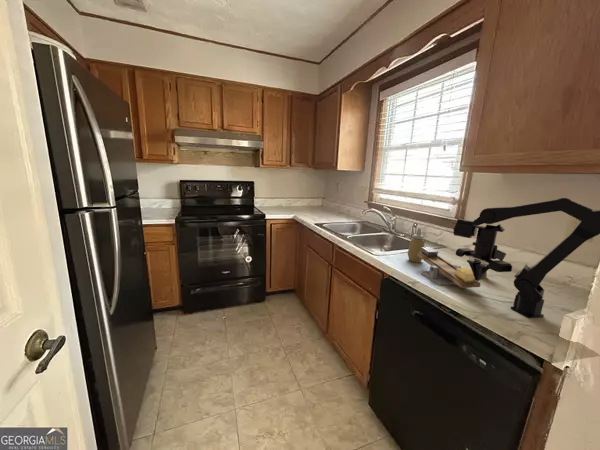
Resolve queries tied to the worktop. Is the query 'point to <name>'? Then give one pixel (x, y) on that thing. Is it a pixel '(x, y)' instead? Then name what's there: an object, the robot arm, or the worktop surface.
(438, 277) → the pivot stand
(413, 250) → the squeeze bottle
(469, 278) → the block
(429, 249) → the counterweight
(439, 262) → the balance beam
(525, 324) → the worktop surface
